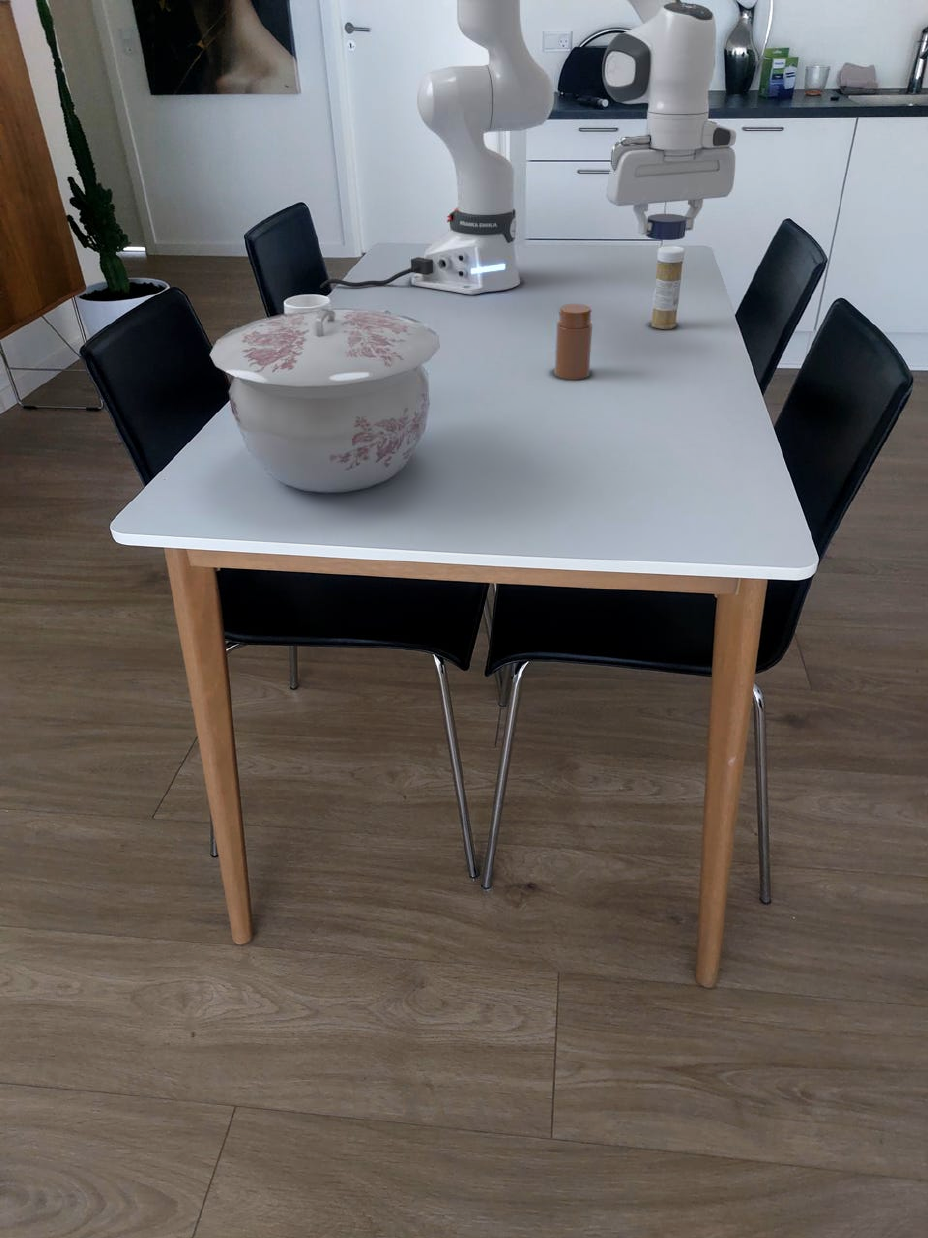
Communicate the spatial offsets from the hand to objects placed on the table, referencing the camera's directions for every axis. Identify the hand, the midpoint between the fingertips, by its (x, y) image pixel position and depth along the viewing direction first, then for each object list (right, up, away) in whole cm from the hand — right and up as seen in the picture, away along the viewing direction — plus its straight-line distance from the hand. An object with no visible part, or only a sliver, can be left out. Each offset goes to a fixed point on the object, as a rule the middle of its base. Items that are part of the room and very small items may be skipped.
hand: (665, 231), depth 148 cm
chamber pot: (-48, -41, -25) cm, 68 cm away
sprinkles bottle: (+4, -8, +23) cm, 25 cm away
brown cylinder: (-14, -21, +3) cm, 26 cm away
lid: (0, +1, -1) cm, 2 cm away
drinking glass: (-54, -28, -5) cm, 61 cm away
